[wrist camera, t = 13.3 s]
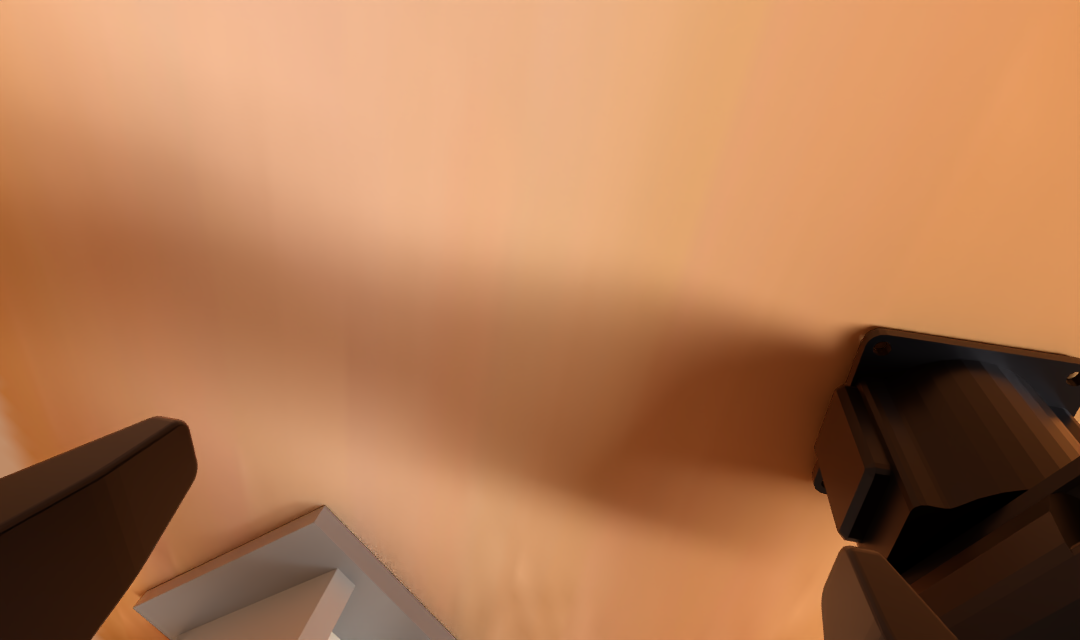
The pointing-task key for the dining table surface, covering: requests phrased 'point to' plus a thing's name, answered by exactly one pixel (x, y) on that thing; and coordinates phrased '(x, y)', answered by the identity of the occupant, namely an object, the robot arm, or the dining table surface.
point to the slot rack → (291, 592)
